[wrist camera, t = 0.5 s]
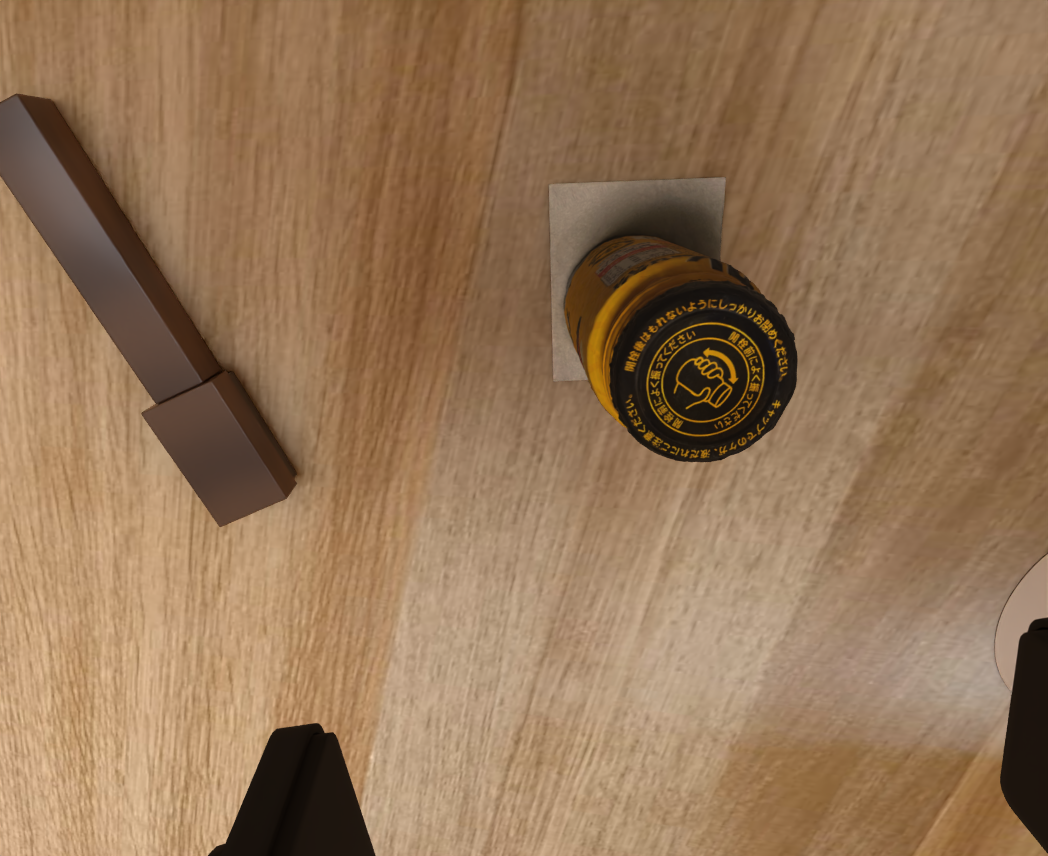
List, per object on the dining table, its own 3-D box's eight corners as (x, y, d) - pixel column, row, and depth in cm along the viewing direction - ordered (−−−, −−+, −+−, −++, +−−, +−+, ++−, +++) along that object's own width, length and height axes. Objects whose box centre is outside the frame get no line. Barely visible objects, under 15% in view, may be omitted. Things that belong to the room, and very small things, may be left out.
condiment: (552, 380, 30) (583, 497, 19) (548, 184, 27) (581, 186, 16) (710, 373, 31) (832, 485, 19) (723, 176, 28) (876, 175, 16)
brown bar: (-11, 131, 26) (-59, 127, 24) (63, 92, 26) (21, 84, 23) (239, 503, 32) (219, 528, 30) (302, 476, 32) (287, 498, 29)
